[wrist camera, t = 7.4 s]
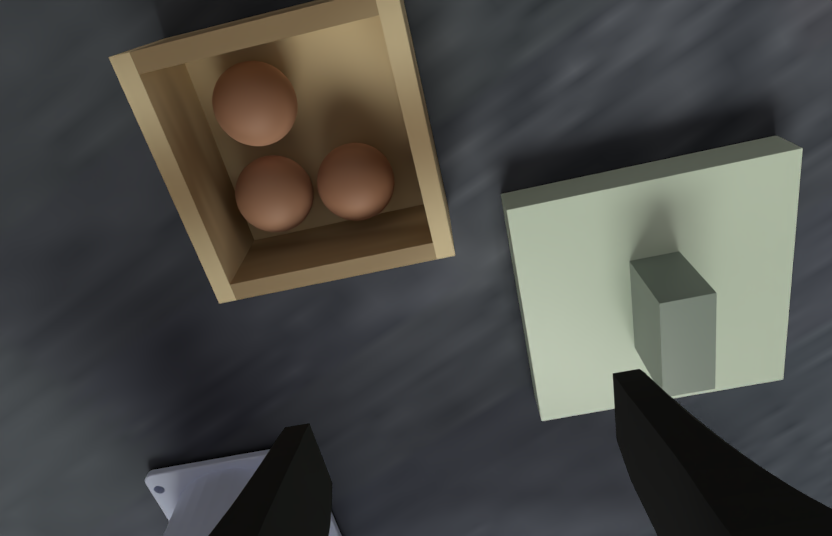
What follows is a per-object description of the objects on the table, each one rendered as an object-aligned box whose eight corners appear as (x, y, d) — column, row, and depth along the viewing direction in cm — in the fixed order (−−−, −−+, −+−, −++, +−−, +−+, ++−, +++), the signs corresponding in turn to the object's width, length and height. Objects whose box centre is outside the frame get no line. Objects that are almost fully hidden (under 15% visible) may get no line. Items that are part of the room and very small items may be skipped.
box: (448, 208, 22) (455, 255, 19) (248, 250, 23) (219, 303, 20) (398, -21, 19) (396, -16, 15) (163, 38, 19) (108, 57, 16)
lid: (762, 355, 26) (828, 431, 22) (534, 396, 27) (557, 475, 23) (776, 135, 21) (863, 178, 17) (500, 193, 22) (520, 247, 18)
